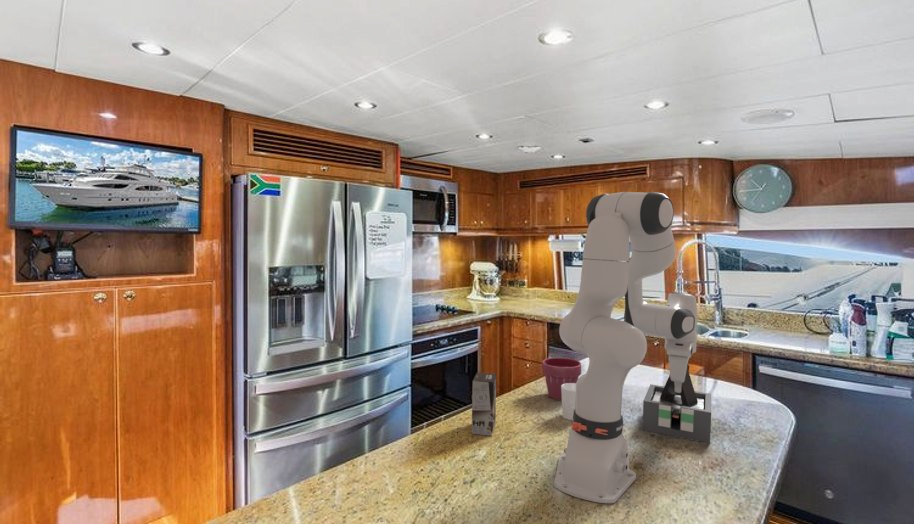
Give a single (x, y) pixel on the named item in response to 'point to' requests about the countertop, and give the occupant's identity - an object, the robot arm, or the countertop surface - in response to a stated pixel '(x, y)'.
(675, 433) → the scale housing
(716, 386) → the countertop surface
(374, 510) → the countertop surface
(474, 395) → the coffee box
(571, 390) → the white cup
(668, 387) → the phone stand
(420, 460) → the countertop surface
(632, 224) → the robot arm
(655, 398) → the pan
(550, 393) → the plant pot
